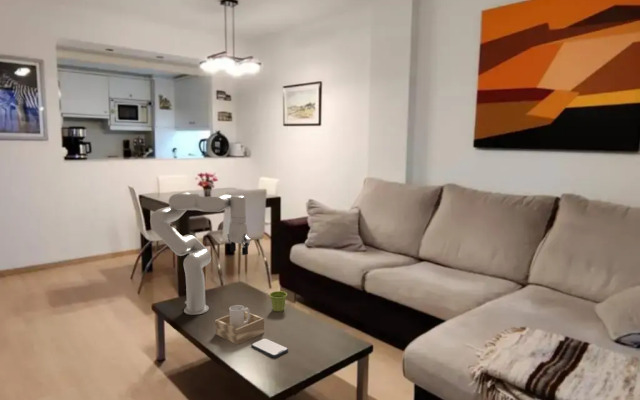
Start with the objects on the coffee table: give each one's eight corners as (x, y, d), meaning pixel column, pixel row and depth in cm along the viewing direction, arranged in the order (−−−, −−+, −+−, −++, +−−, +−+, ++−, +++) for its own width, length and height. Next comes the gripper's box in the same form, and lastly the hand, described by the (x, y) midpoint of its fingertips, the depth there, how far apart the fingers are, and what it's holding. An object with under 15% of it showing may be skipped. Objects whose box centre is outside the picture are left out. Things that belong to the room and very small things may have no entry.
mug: (233, 336, 193) (232, 311, 191) (227, 331, 199) (227, 307, 197) (253, 331, 199) (252, 307, 197) (247, 326, 204) (247, 302, 202)
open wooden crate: (215, 334, 198) (215, 320, 197) (242, 323, 210) (242, 309, 209) (237, 344, 188) (237, 329, 187) (264, 332, 200) (263, 318, 199)
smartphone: (249, 347, 186) (274, 359, 176) (249, 344, 186) (274, 356, 176) (265, 340, 193) (289, 351, 182) (265, 337, 193) (289, 348, 182)
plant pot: (290, 308, 228) (290, 293, 227) (279, 314, 221) (279, 298, 219) (277, 305, 233) (277, 290, 232) (266, 310, 226) (265, 295, 224)
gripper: (221, 218, 216) (222, 251, 218) (243, 223, 205) (243, 257, 207) (233, 217, 222) (234, 248, 224) (255, 221, 210) (255, 254, 213)
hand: (238, 252), depth 216 cm, fingers open, 9 cm apart
